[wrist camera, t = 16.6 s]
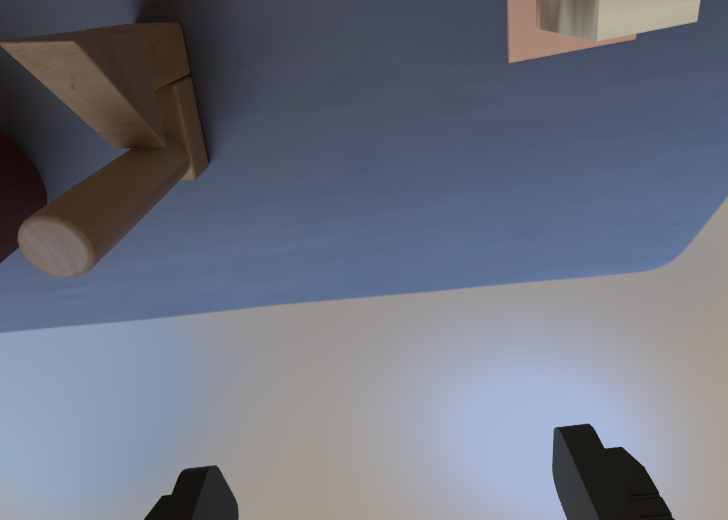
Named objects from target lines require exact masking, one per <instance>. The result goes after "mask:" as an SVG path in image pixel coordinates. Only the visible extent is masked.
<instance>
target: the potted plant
mask: <svg viewBox="0 0 728 520" xmlns="http://www.w3.org/2000/svg"><path fill="white" fill-rule="evenodd" d="M46 205H47V193H46V191H45V188H44V186H43V183H42V181H41V178H40V175H39V173H38V172H37V170H36V169H35V168H34V166H33V165H32V163H31V162H30V161H29V159H28V158H27V157H26V155H25V154H24V153H23V152H22V151H21V150H20V149H18V148H17V147H16V146H15V145H14V144H13V143H12V142H11V141H9V140H8V139H7V138H6V137H5V136H3V135H1V134H0V263H1V262H2V261H3V260H5V259H6V258H7V257H8V256H9V255H10V254H11V253H13V252H14V251H15V250H16V249H17V248H18V247H19V244H18V240H17V239H18V231H19V228H20V226H21V224H22V223H23V221H24V220H25V219H26V218H28V217H29V216H31V215H32V214H34V213H35V212H37V211H38V210H40V209H41V208H43V207H44V206H46Z"/></svg>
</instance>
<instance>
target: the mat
mask: <svg viewBox="0 0 728 520" xmlns="http://www.w3.org/2000/svg"><path fill="white" fill-rule="evenodd" d="M507 38H508V62H509V63H512V62H517V61H522V60H528V59H533V58H538V57H544V56H549V55H554V54H559V53H565V52H570V51H575V50H581V49H586V48H591V47H596V46H602V45H607V44H612V43H617V42H623V41H628V40H633V39H636V34H632V35H627V36H622V37H617V38H612V39H607V40H601V41H592V40H588V39H583V38H578V37H573V36H569V35H564V34H559V33H554V32H550V31H545V30H540V29H536V0H507Z"/></svg>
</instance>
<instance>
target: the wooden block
mask: <svg viewBox="0 0 728 520" xmlns="http://www.w3.org/2000/svg"><path fill="white" fill-rule="evenodd" d="M0 45H1V46H2V47H3V48H4V49H5V50H6V51H7V52H8V53H9V54H10V55H12V56H13V57H14V58H15V59H16V60H17V61H18V62H19V63H20V64H22V65H23V66H24V67H25V68H26V69H27V70H28V71H29V72H30V73H32V74H33V75H34V76H35V77H36V78H37V79H38V80H39V81H40V82H42V83H43V84H44V85H45V86H46V87H47V88H48V89H49V90H50V91H52V92H53V93H54V94H55V95H56V96H57V97H58V98H59V99H60V100H62V101H63V102H64V103H65V104H66V105H67V106H68V107H69V108H70V109H72V110H73V111H74V112H75V113H76V114H77V115H78V116H79V117H80V118H82V119H83V120H84V121H85V122H86V123H87V124H88V125H89V126H90V127H92V128H93V129H94V130H95V131H96V132H97V133H98V134H99V135H100V136H102V137H103V138H104V139H105V140H106V141H107V142H108V143H109V144H110V145H112V146H113V147H114V148H132V149H130V150H129V151H127V152H126V153H124V154H123V155H121V156H120V157H118V158H117V159H115V160H114V161H112V162H111V163H109V164H108V165H106V166H105V167H103V168H102V169H100V170H98V171H97V172H95V173H94V174H92V175H91V176H89V177H88V178H86V179H85V180H83V181H82V182H80V183H79V184H77V185H76V186H74V187H73V188H71V189H70V190H68V191H67V192H65V193H64V194H62V195H61V196H59V197H58V198H56V199H55V200H53V201H52V202H50V203H49V204H47V205H46V206H44V207H43V208H41V209H40V210H38V211H37V212H35V213H34V214H32V215H31V216H29V217H28V218H26V219H25V220H24V221H23V223H22V224H21V226H20V228H19V231H18V239H17V240H18V244H19V247H20V250H21V251H22V253H23V255H24V256H25V258H26V259H27V260H28V261H29V262H30V263H31V264H32V265H33V266H34V267H36V268H37V269H39V270H41V271H42V272H44V273H46V274H49V275H52V276H54V277H60V278H72V277H78V276H81V275H83V274H85V273H87V272H89V271H90V270H91V269H92V268H93V267H94V266H95V265H96V264H97V263H98V262H99V261H100V260H101V259H102V258H103V257H104V256H105V255H106V254H107V253H108V252H109V251H110V250H111V249H112V248H113V247H114V246H115V245H116V244H117V243H118V242H119V241H120V240H121V239H122V238H123V237H124V236H125V235H126V234H127V233H128V232H129V231H130V230H131V229H132V228H133V227H134V226H135V225H136V224H137V223H138V222H139V221H140V220H141V219H142V218H143V217H144V216H145V215H146V214H147V213H148V212H149V211H150V210H151V209H152V208H153V207H154V206H155V205H156V204H157V203H158V202H159V201H160V200H161V199H162V198H163V197H164V196H165V195H166V194H167V193H168V192H169V191H170V190H171V189H172V188H173V187H174V186H175V185H176V184H177V183H178V182H179V181H181V180H196V179H197V178H198V177H199V176H200V175H201V174H202V173H203V171H204V170H205V169H206V168H207V167H208V159H207V154H206V149H205V144H204V139H203V134H202V129H201V124H200V119H199V114H198V109H197V104H196V99H195V94H194V88H193V83H192V79H191V77H189V76H187V75H189V73H190V68H189V63H188V58H187V53H186V48H185V43H184V38H183V33H182V28H181V26H180V24H179V23H176V22H162V23H133V24H125V25H117V26H110V27H102V28H94V29H88V30H86V31H75V32H67V33H60V34H52V35H44V36H37V37H29V38H21V39H14V40H6V41H1V43H0Z"/></svg>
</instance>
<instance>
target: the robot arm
mask: <svg viewBox="0 0 728 520" xmlns="http://www.w3.org/2000/svg"><path fill="white" fill-rule="evenodd" d="M552 470H553V477H554V483H555V487H556V490H557V493H558V497H559V499H560V502H561V505H562V507H563V510H564V512H565V515H566V517H567V520H675V519H673V518H672V515H671V512H670V510H669V508H668V507H667V505H666V503H665V502H664V500H663V498H662V497H660V495H659V491H658V490H657V488H656V486H655V485H654V483H653V481H652V479H651V478H650V476H649V474H648V473H647V471H646V469H645V468H644V466H642V465H641V464H640V463H639V462H638V461H637V460H636V459H635V458H634V457H632V456H631V455H630V454H629V453H628V452H627V451H626V450H625V449H624V448H622V447H615V448H607V449H605V448H604V446H603V445H602V443H601V441H600V439H599V437H598V435H597V433H596V431H595V430H594V428H593V427H592V426H591V425H590V424H581V425H573V426H564V427H556V428H555V429H554V440H553V464H552ZM238 515H239V514H238V505H237V501H236V499H235V497H234V495H233V493H232V492H231V490H230V488H229V486H228V484H227V482H226V480H225V479H224V477H223V475H222V473H221V471H220V469H219V468H218V467H217V466H215V465H214V466H206V467H197V468H188V469H184V470H183V471H182V472H181V473H180V475H179V477H178V479H177V482H176V484H175V487H174V490H173V492H172V495H166V496H162V497H161V498H160V499H159V501H158V502H157V503H156V504H155V506H154V507H153V508H152V510H151V511H150V512H149V514H148V515H147V516H146V517H145V519H144V520H238V517H239V516H238Z"/></svg>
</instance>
